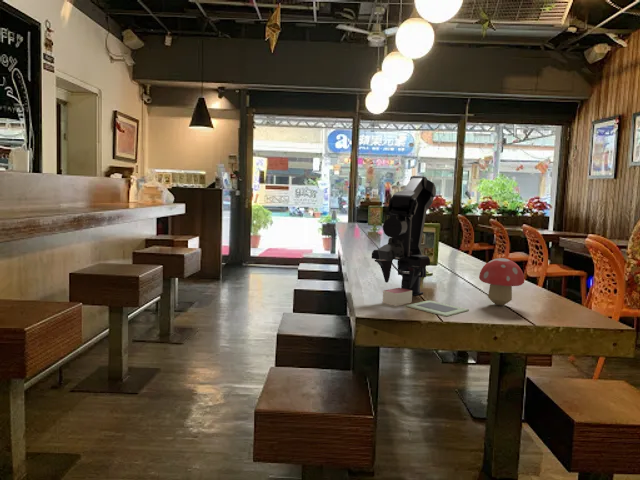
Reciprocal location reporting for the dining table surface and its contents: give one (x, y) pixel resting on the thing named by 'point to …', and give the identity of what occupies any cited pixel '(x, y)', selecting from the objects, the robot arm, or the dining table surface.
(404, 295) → the card box
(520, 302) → the dining table surface
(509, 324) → the dining table surface
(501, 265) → the decorative mushroom
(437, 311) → the mat
